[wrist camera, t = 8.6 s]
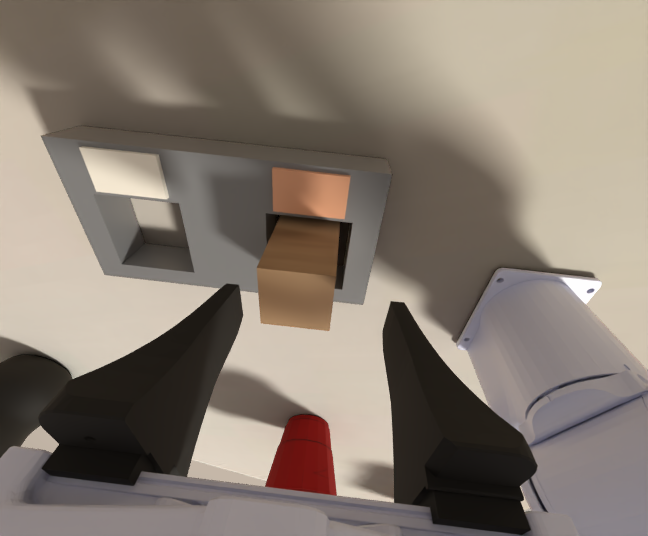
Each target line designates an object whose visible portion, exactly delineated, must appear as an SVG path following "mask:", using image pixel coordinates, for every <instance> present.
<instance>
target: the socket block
mask: <svg viewBox="0 0 648 536" xmlns="http://www.w3.org/2000/svg"><path fill="white" fill-rule="evenodd" d="M41 137H42V140H43V142H44V144H45V146H46V148H47V150H48V153H49V155H50V157H51V159H52V161H53V164H54V166H55V168H56V170H57V172H58V174H59V177H60V179H61V181H62V183H63V185H64V187H65V190H66V192H67V194H68V196H69V198H70V201H71V203H72V205H73V207H74V209H75V211H76V214H77V216H78V218H79V220H80V222H81V224H82V227H83V229H84V231H85V233H86V235H87V238H88V240H89V242H90V244H91V246H92V248H93V251H94V253H95V255H96V257H97V259H98V261H99V264H100V266H101V268H102V270H103V272H104V275H110V276H119V277H127V278H136V279H145V280H153V281H162V282H170V283H179V284H188V285H196V286H205V287H213V288H222V287H223V286H224V285H225V284H226V283H228V284H237V285H239V287H240V291H248V292H256V293H258V280H257V266H258V264H259V262H260V259H261V257H262V255H263V253H264V251H265V248H266V246H267V244H268V242H269V240H270V237H271V235H272V233H273V231H274V229H275V226H276V214H278V215H287V216H296V217H305V218H313V219H322V220H331V221H340V222H349V223H350V225H349V232H348V238H347V245H346V251H345V258H344V265H343V266H338V265H337V271H336V281H335V289H334V297H333V301H334V302H343V303H351V304H360V305H363V303H364V299H365V294H366V290H367V285H368V281H369V276H370V272H371V268H372V263H373V259H374V254H375V250H376V245H377V241H378V236H379V232H380V227H381V223H382V218H383V214H384V209H385V205H386V200H387V196H388V192H389V187H390V183H391V178H392V172H391V169H390V166H389V163H388V160H387V159H383V158H374V157H364V156H355V155H346V154H337V153H328V152H318V151H309V150H300V149H291V148H282V147H272V146H263V145H254V144H245V143H235V142H226V141H217V140H208V139H199V138H189V137H180V136H171V135H162V134H153V133H143V132H134V131H125V130H116V129H107V128H97V127H88V126H77V127H73V128H69V129H66V130H62V131H58V132H54V133H50V134H46V135H42V136H41ZM130 198H135V199H144V200H153V201H162V202H171V203H179V206H180V210H181V215H182V219H183V224H184V228H185V232H186V237H187V241H188V246H189V248H181V247H172V246H163V245H154V244H146V243H145V242H144V239H143V236H142V233H141V230H140V227H139V224H138V221H137V218H136V215H135V212H134V209H133V206H132V203H131V200H130Z"/></svg>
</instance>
